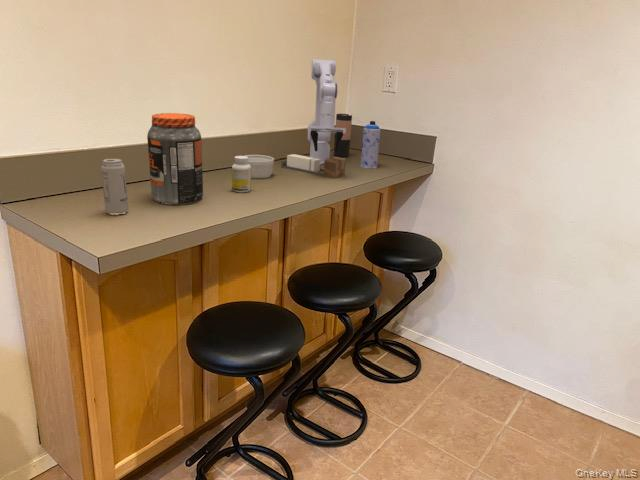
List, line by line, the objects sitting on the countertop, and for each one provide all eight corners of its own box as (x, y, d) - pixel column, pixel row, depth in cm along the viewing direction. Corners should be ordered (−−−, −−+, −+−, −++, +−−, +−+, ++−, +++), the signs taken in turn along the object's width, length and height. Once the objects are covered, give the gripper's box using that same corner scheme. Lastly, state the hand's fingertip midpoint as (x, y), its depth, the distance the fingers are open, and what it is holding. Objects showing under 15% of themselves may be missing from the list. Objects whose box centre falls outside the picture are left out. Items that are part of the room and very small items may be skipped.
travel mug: (332, 157, 233) (335, 114, 226) (334, 154, 241) (337, 113, 234) (348, 158, 232) (351, 115, 225) (349, 155, 240) (353, 114, 233)
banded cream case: (293, 165, 210) (293, 153, 208) (319, 170, 203) (320, 158, 201) (286, 167, 206) (287, 155, 204) (313, 172, 199) (314, 160, 197)
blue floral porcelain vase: (361, 164, 222) (365, 119, 215) (378, 165, 220) (383, 121, 213) (358, 167, 215) (362, 121, 208) (375, 169, 213) (380, 122, 206)
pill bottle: (243, 187, 171) (243, 154, 167) (254, 191, 167) (255, 157, 163) (228, 189, 167) (227, 156, 163) (239, 193, 163) (239, 159, 159)
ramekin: (251, 181, 180) (252, 162, 178) (233, 174, 190) (233, 156, 187) (280, 177, 189) (280, 159, 186) (261, 170, 198) (261, 153, 195)
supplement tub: (149, 193, 157) (144, 111, 148) (199, 191, 163) (196, 112, 154) (153, 207, 143) (147, 118, 134) (207, 204, 149) (205, 119, 140)
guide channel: (291, 164, 212) (291, 158, 211) (333, 173, 201) (334, 167, 200) (281, 167, 206) (281, 161, 205) (324, 175, 195) (324, 169, 194)
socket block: (334, 172, 201) (335, 156, 199) (344, 175, 199) (345, 158, 196) (323, 176, 195) (324, 159, 192) (334, 178, 192) (335, 161, 190)
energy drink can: (127, 215, 135) (123, 162, 130) (104, 216, 133) (99, 162, 128) (129, 209, 140) (125, 158, 135) (106, 210, 139) (101, 158, 133)
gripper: (310, 114, 179) (308, 151, 182) (348, 116, 182) (346, 152, 185) (307, 114, 186) (306, 150, 189) (344, 116, 189) (342, 152, 192)
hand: (325, 151), depth 187 cm, fingers open, 7 cm apart
